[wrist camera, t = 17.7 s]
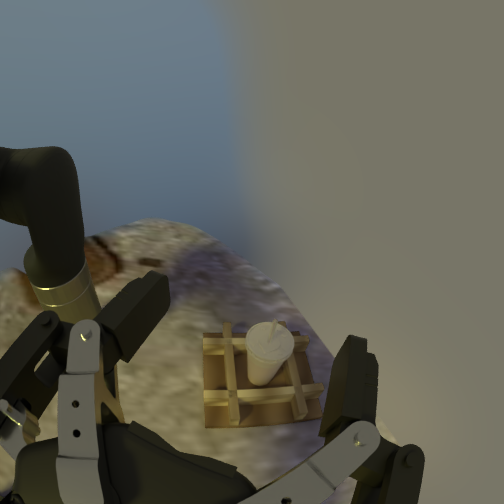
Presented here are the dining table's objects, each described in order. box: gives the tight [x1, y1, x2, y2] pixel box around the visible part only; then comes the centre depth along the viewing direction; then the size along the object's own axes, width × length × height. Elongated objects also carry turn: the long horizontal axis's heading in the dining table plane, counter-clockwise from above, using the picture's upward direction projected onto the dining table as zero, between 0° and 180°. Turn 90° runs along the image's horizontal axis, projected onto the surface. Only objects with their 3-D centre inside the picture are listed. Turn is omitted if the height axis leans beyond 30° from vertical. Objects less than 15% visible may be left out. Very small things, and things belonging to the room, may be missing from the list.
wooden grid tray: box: [203, 321, 324, 428], centre depth 39 cm, size 17×17×4 cm
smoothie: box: [245, 319, 294, 386], centre depth 35 cm, size 6×6×14 cm
